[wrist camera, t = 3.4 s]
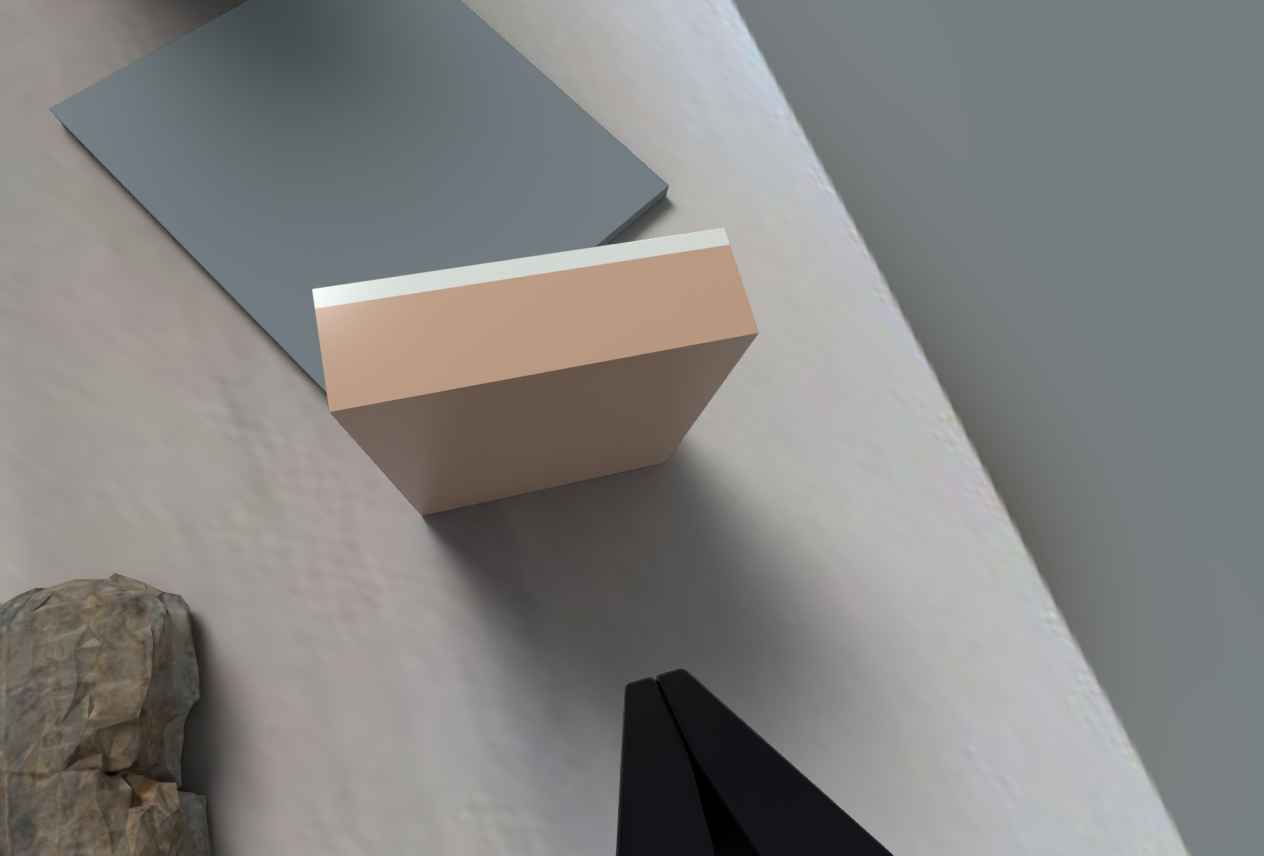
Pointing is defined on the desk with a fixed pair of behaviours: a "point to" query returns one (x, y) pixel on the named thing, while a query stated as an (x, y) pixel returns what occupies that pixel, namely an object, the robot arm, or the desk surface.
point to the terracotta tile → (533, 364)
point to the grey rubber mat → (354, 152)
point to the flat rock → (97, 722)
